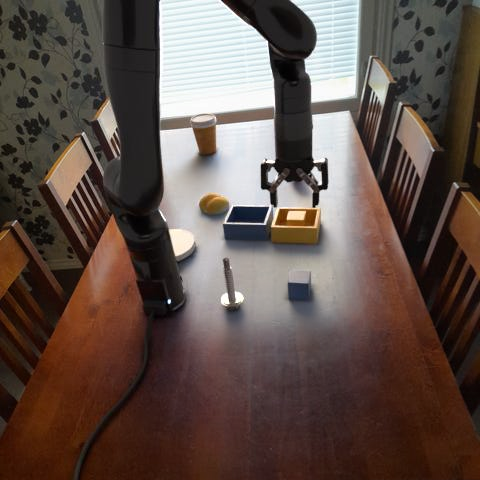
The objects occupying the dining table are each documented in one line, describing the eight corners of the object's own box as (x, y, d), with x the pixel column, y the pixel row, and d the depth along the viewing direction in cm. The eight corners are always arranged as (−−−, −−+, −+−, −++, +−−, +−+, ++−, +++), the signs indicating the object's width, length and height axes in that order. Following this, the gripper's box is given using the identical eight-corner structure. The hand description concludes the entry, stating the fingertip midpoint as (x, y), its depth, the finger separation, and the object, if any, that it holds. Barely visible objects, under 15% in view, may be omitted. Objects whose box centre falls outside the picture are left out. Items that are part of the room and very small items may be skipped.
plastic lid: (139, 246, 123) (136, 238, 121) (188, 232, 126) (186, 224, 124) (150, 273, 113) (147, 264, 111) (203, 257, 116) (201, 248, 114)
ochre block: (304, 235, 117) (303, 220, 114) (286, 234, 118) (286, 219, 115) (306, 226, 121) (306, 211, 118) (289, 225, 122) (288, 210, 119)
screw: (222, 300, 102) (243, 298, 102) (222, 314, 99) (244, 312, 98) (213, 252, 93) (237, 249, 93) (213, 265, 90) (237, 263, 90)
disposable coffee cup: (191, 150, 169) (185, 117, 161) (214, 143, 172) (210, 110, 164) (200, 158, 163) (194, 124, 155) (224, 151, 165) (220, 117, 157)
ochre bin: (316, 243, 115) (317, 228, 112) (271, 242, 118) (270, 227, 115) (320, 222, 122) (320, 207, 119) (278, 221, 125) (277, 207, 122)
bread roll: (214, 218, 130) (212, 206, 127) (195, 209, 135) (193, 196, 133) (235, 207, 133) (234, 195, 131) (217, 198, 139) (215, 186, 136)
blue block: (308, 299, 99) (308, 283, 96) (288, 298, 100) (287, 282, 97) (311, 287, 102) (311, 270, 99) (291, 286, 103) (290, 270, 100)
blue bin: (267, 239, 119) (266, 224, 116) (224, 238, 121) (222, 223, 118) (273, 220, 126) (272, 205, 123) (233, 219, 128) (231, 204, 125)
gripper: (254, 140, 88) (260, 214, 99) (328, 138, 85) (326, 215, 96) (261, 126, 94) (265, 198, 105) (330, 124, 91) (328, 198, 102)
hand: (294, 206), depth 100 cm, fingers open, 8 cm apart
